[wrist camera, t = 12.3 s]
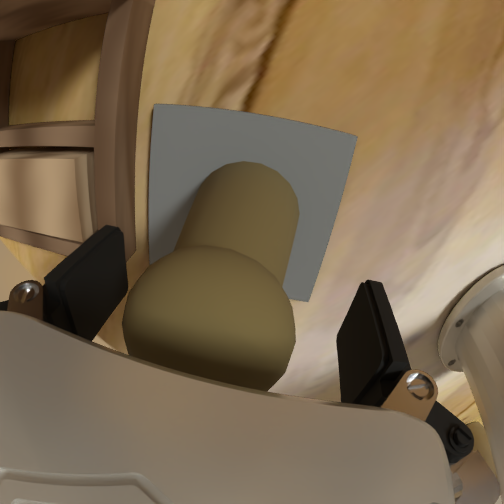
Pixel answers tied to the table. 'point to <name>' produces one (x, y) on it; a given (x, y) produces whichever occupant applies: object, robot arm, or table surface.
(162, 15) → the table surface
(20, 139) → the open walnut box
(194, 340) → the olive pawn
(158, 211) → the slate mat
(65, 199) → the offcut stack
